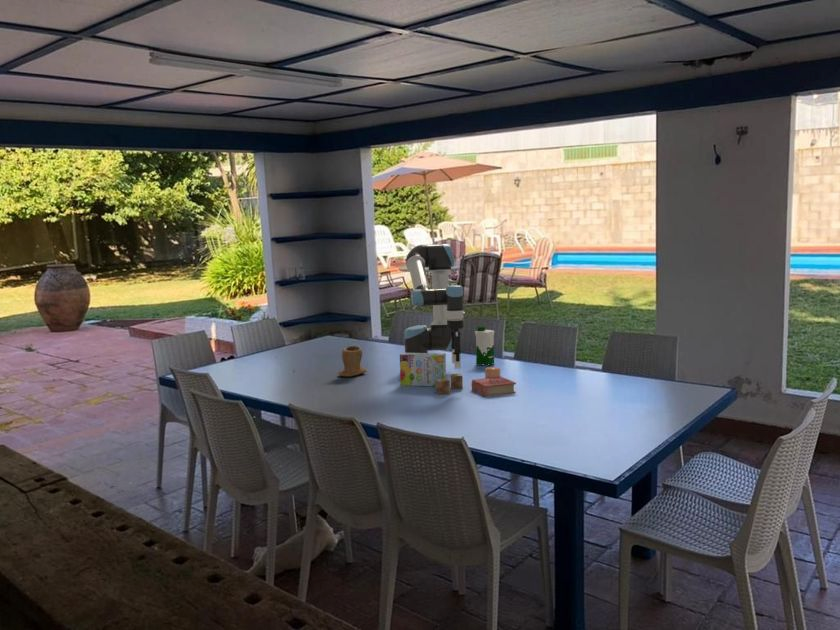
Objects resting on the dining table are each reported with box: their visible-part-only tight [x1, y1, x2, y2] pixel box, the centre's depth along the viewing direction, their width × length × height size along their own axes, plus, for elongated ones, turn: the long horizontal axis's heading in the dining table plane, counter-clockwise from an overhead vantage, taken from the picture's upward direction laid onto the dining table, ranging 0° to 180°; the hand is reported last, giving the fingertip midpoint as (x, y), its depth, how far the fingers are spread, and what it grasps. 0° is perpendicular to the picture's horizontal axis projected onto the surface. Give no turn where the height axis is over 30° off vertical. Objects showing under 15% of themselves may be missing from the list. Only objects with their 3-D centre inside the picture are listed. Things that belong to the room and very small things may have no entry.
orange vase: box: [337, 345, 368, 377], centre depth 365 cm, size 15×12×15 cm
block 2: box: [450, 373, 464, 390], centre depth 332 cm, size 5×5×6 cm
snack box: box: [399, 352, 447, 387], centre depth 339 cm, size 21×6×15 cm, turn 74°
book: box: [471, 376, 517, 397], centre depth 323 cm, size 14×15×5 cm
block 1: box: [435, 378, 451, 396], centre depth 322 cm, size 5×5×6 cm
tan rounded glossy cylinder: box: [484, 366, 501, 378], centre depth 334 cm, size 7×7×8 cm
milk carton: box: [474, 325, 495, 366], centre depth 384 cm, size 9×9×20 cm
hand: (456, 365), depth 331 cm, fingers open, 13 cm apart
